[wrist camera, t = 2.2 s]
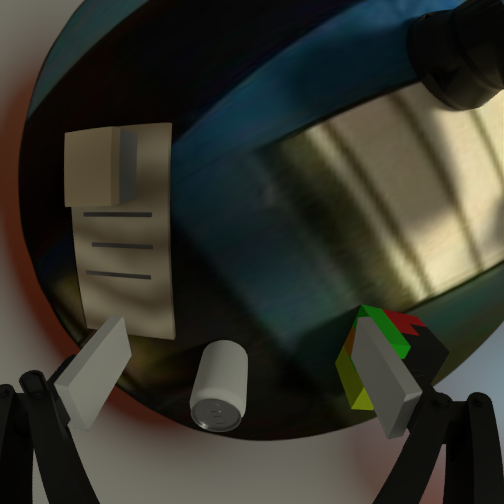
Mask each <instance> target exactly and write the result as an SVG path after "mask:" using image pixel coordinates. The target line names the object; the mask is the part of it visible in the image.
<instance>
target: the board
mask: <svg viewBox="0 0 504 504" xmlns="http://www.w3.org/2000/svg"><path fill="white" fill-rule="evenodd" d="M116 128H121V129H125V130H129V131H133V132H137V133H138V140H137V198H136V199H133V200H129V201H126V202H123V203H119V204H116V205H113V206H82V207H72V223H73V236H74V246H75V255H76V264H77V271H78V278H79V285H80V291H81V297H82V303H83V308H84V313H85V318H86V323H87V328H91V329H97V330H99V329H100V328H101V326H102V325H103V324H104V323H105V322H106V321H107V320H108V318H109V317H110V316H111V315H121V316H123V317H124V322H125V327H126V332H127V334H131V335H138V336H146V337H155V338H163V339H173V340H174V339H175V336H176V334H175V321H174V308H173V292H172V272H171V245H170V161H171V134H172V124H171V123H155V124H141V125H129V126H119V127H116Z"/></svg>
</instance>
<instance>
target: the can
mask: <svg viewBox="0 0 504 504" xmlns="http://www.w3.org/2000/svg"><path fill="white" fill-rule="evenodd" d="M247 370H248V357H247V354H246V352H245V350H244V349H243V348H242V347H241V346H240V345H238V344H237V343H235V342H232V341H228V340H219V341H215V342H212V343H210V344H209V345H208V346H207V347H206V348H205V349H204V352H203V354H202V358H201V361H200V365H199V369H198V372H197V376H196V380H195V383H194V387H193V391H192V395H191V399H190V407H191V416H192V418H193V420H194V421H195V422H196V423H197V424H198V425H199V426H201V427H202V428H204V429H207V430H210V431H215V432H224V431H229V430H232V429H234V428H236V427H237V426H238V425H239V424H240V422H241V418H242V417H243V415H244V413H245V408H246V392H247Z"/></svg>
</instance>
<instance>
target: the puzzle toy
mask: <svg viewBox="0 0 504 504" xmlns="http://www.w3.org/2000/svg"><path fill="white" fill-rule="evenodd" d="M358 317H371V318H372V319H373V321H374V322H375V323H376V325H377V326H378V328H379V329H380V330H381V332H382V333H383V335H384V336H385V337H386V339H387V340H388V342H389V343H390V344H391V346H392V347H393V349H394V350H395V352H396V353H397V355H398V356H399V357H400V359H406V358H409V359H410V360H412V361H413V362H415V363H416V364H417V366H418V367H419V368H420V371H422V373H423V374H424V376H425V377H426V378H427V379H428V381H429V382H430V384H431V382H432V381H433V379H434V377H435V376H436V374H437V372H438V371H439V369H440V367H441V366H442V364H443V362H444V361H445V359H446V357H447V355H448V354H449V351H448V350H447V349H446V348H445V346H444V345H443V344H442V343H441V342H440V341H439V340H438V339H437V338H436V337H435V336H434V334H433V333H432V332H431V331H430V330H429V329H428V328H427V327H426V326H425V325H424V324H423V323H422V322H421V321H420V319H419V318H418V317H415V316H411V315H406V314H402V313H397V312H393V311H388V310H384V309H379V308H375V307H370V306H366V305H362V304H361V307H360V309H359V312H358V314H357V316H356V319H355V321H354V323H353V325H352V328H351V330H350V332H349V334H348V337H347V339H346V341H345V343H344V345H343V347H342V349H341V352H340V354H339V356H338V358H337V360H336V362H335V365H336V368H337V370H338V373H339V376H340V379H341V382H342V384H343V387H344V390H345V393H346V396H347V399H348V401H349V404H350V407H351V409H363V410H375V409H374V407H373V405H372V403H371V400H370V398H369V396H368V394H367V392H366V389H365V387H364V385H363V383H362V381H361V378H360V376H359V374H358V372H357V370H356V368H355V366H354V363H353V361H352V359H351V355H352V350H353V344H354V339H355V333H356V327H357V321H358Z"/></svg>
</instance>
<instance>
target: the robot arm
mask: <svg viewBox="0 0 504 504" xmlns="http://www.w3.org/2000/svg"><path fill="white" fill-rule="evenodd" d="M407 49H408V54H409V57H410V60H411V63H412V65H413V68H414V70H415V72H416V73H417V75H418V77H419V78H420V80H421V81H422V83H423V84H424V85H425V86H426V88H427V89H428V90H429V91H430V92H431V93H432V94H433V95H434V96H435V97H436V98H437V99H439V100H440V101H441V102H443V103H444V104H446V105H448V106H450V107H452V108H455V109H459V110H470V109H475V108H479V107H481V106H483V105H485V104H486V103H487V102H488V101H489V100H490V99H491V98H493V97H494V96H495V95H496V94H498V93H499V92H500V91H501V90H503V89H504V0H467V1H465V2H464V3H462V4H461V5H459V6H458V7H456V8H455V9H451V10H442V11H436V12H429V13H426V14H424V15H422V16H421V17H419V18H418V19H417V20H416V21H415V22H413V24H412V25H411V26H410V28H409V30H408V34H407ZM131 356H132V355H131V350H130V346H129V341H128V337H127V332H126V327H125V322H124V317H123V316H121V315H111V316H110V317H109V318H108V320H107V321H106V322H105V323H104V324H103V325H102V326H101V328H100V329H99V330H98V331H97V332H96V333H95V335H94V336H93V337H92V338H91V339H90V340H89V342H88V343H87V344H86V345H85V346H84V347H83V349H82V350H81V351H80V352H79V353H78V355H74V354H73V355H72V356H70V357H68V358H67V359H65V361H64V362H63V363H62V364H61V366H59V368H58V369H57V371H55V372H54V374H53V375H52V376H51V377H50V378H49V380H48V381H47V382H46V379H45V377H44V375H43V373H42V372H40V371H38V370H32V371H28V372H26V373H24V374H23V375H22V376H21V377H20V379H19V383H20V385H21V387H22V389H23V391H24V393H16V392H15V390H14V388H13V386H11V385H10V384H2V385H0V504H33V503H32V502H33V500H32V471H33V451H34V450H35V454H36V459H37V463H38V467H39V471H40V474H41V479H42V482H43V486H44V489H45V492H46V495H47V499H48V501H49V504H100V503H99V501H98V499H97V497H96V495H95V492H94V490H93V488H92V486H91V484H90V482H89V479H88V477H87V474H86V472H85V470H84V468H83V465H82V462H81V460H80V457H79V455H78V452H77V449H76V447H75V444H74V441H73V438H72V435H71V432H70V429H69V428H68V426H67V424H68V423H69V421H70V420H71V421H72V423H73V425H74V427H75V428H77V429H80V430H84V431H87V432H88V431H89V429H90V427H91V426H92V424H93V422H94V420H95V418H96V417H97V415H98V413H99V411H100V409H101V408H102V406H103V404H104V402H105V400H106V399H107V397H108V395H109V393H110V392H111V390H112V388H113V386H114V385H115V383H116V381H117V380H118V378H119V376H120V374H121V373H122V371H123V369H124V368H125V366H126V364H127V362H128V361H129V359H130V357H131ZM351 359H352V361H353V363H354V366H355V368H356V370H357V372H358V374H359V376H360V378H361V381H362V383H363V385H364V387H365V389H366V392H367V394H368V396H369V398H370V400H371V403H372V405H373V407H374V409H375V412H376V414H377V416H378V418H379V421H380V423H381V425H382V428H383V430H384V432H385V435H386V437H387V439H392V438H396V437H401V436H403V434H404V432H405V430H406V428H408V430H409V432H410V435H409V437H408V439H407V440H406V442H405V444H404V446H403V449H402V451H401V453H400V455H399V457H398V459H397V461H396V463H395V465H394V467H393V469H392V471H391V473H390V474H389V476H388V478H387V480H386V482H385V483H384V485H383V487H382V488H381V490H380V492H379V494H378V495H377V497H376V499H375V500H374V502H373V503H372V504H419V502H420V500H421V498H422V495H423V493H424V491H425V489H426V486H427V484H428V481H429V479H430V476H431V474H432V471H433V469H434V466H435V463H436V460H437V458H438V455H439V452H440V449H441V446H442V444H446V469H445V485H444V496H443V504H504V477H503V476H504V475H503V464H502V456H501V448H500V442H499V436H498V430H497V424H496V419H495V414H494V409H493V404H492V401H491V399H490V398H489V397H488V396H487V395H486V394H483V393H480V392H474V393H472V394H470V395H469V397H468V398H467V401H452V399H451V398H450V397H449V396H448V395H446V394H444V393H439V392H436V391H435V389H434V388H433V386H432V385H431V384H430V382H429V381H428V379H427V378H426V377H425V376H424V374H423V373H422V371H420V368H419V367H418V366H417V364H416V363H415V362H413V361H412V360H410V359H409V358H406V359H400V357H399V356H398V355H397V353H396V352H395V350H394V349H393V347H392V346H391V344H390V343H389V342H388V340H387V339H386V337H385V336H384V335H383V333H382V332H381V330H380V329H379V328H378V326H377V325H376V323H375V322H374V321H373V319H372V318H371V317H358V321H357V327H356V333H355V339H354V344H353V350H352V355H351Z"/></svg>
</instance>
